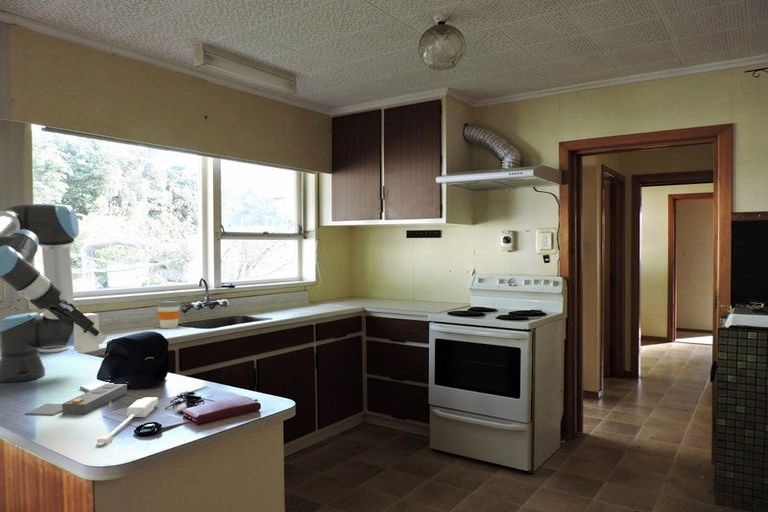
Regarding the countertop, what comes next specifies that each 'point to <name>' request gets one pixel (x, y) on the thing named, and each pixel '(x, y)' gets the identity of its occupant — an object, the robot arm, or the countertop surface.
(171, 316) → the reusable coffee cup
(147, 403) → the charging cable
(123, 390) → the strip
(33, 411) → the mat
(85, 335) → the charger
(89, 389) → the external hard drive
